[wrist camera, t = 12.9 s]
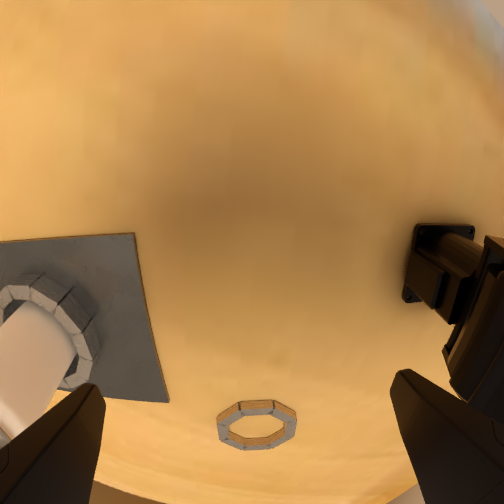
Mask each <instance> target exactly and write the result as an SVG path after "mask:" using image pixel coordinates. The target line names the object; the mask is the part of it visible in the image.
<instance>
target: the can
mask: <svg viewBox="0 0 504 504" xmlns="http://www.w3.org/2000/svg"><path fill="white" fill-rule="evenodd" d="M76 354H77V350H76V347H75V345H74V342H73V339H72V337H71V335H70V334H69V332H68V331H67V330H66V329H65V328H64V327H63V325H62V324H61V323H60V322H59V321H58V320H57V318H56V317H55V316H54V315H53V314H52V313H51V312H49V311H47V310H46V309H44V308H43V307H41V306H39V305H38V304H36V303H35V302H33V301H32V300H27V301H26V302H25V303H23V304H22V305H21V306H20V307H19V308H18V309H17V310H16V311H15V312H14V313H13V314H12V315H11V316H10V317H9V318H8V319H7V320H6V321H5V322H4V323H3V325H2V326H1V327H0V449H1V448H2V447H3V446H5V445H6V444H7V443H9V442H10V441H11V440H12V439H14V438H15V437H16V436H17V435H19V434H20V433H21V432H22V431H24V430H25V429H26V428H27V427H29V426H30V425H31V424H32V423H34V422H35V421H36V420H38V419H39V418H40V417H41V416H43V414H44V412H45V410H46V408H47V406H48V404H49V402H50V400H51V399H52V397H53V395H54V393H55V391H56V389H57V387H58V386H59V384H60V382H61V380H62V378H63V377H64V375H65V373H66V371H67V370H68V368H69V366H70V364H71V363H72V361H73V359H74V357H75V355H76Z"/></svg>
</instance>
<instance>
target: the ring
mask: <svg viewBox="0 0 504 504" xmlns="http://www.w3.org/2000/svg"><path fill="white" fill-rule="evenodd" d="M269 414H270V415H272V416H274V417H276V418H278V419H280V420H282V421H284V428H283V429H281V430H280V431H278V432H276V433H274V434H273V435H271V436H269V437H267V438H251V439H245V438H243V437H241V436H239V435H236V434H234V433H232V432H230V431H229V425H230V424H232V423H234V422H235V421H237V420H239V419H240V418H242V417H243V416H253V415H269ZM296 423H297V418H296V413H295V411H293V410H291V409H289V408H287V407H286V406H284V405H282V404H280V403H278V402H277V401H275V400H274V401H273V402H272V400H262V401H242V402H240V403H239V402H238V403H236V404H235V405H233V406H232V407H230V408H229V409H227V410H226V411H224V412H223V413H221V414H219V415H218V417H217V429H218V435H219V440H221V442H224V443H226V444H228V445H230V446H233V447H235V448H237V449H240V450H244V451H245V450H264V449H271V448H275V447H276V446H278V445H280V444H282V443H284V442H285V441H287V440H289V439H291V438H293V436H294V435H295V429H296Z"/></svg>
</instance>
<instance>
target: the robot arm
mask: <svg viewBox="0 0 504 504" xmlns="http://www.w3.org/2000/svg"><path fill="white" fill-rule="evenodd" d="M421 229H422V232H421V233H420V230H421ZM469 231H470V232H469ZM474 234H475V227H474V226H472V225H470V224H418V225H416V227H415V229H414V236H413V242H412V248H411V253H410V257H409V262H408V268H407V273H406V278H405V286H404V290H403V295H402V299H403V300H404V301H405V302H406V303H414V302H421V301H423V302H424V303H425V304H426V305H427V306H428V307H429V308H430V309H432V310H433V309H434V310H435V311H436V312H437V313H438V314H439V315H440V316H441V317H442V318H443V319H444V320H445V321H446V322H447V323H448V324H449V325H451V324H454V325H455V327H454V329H453V331H452V333H451V335H450V338H449V340H448V342H447V344H445V345H444V347H443V349H442V354H443V356H444V359H445V362H446V365H447V368H448V371H449V374H450V377H451V378H450V380H449V383H450V385H451V387H452V388H453V390H454V391H455V392H456V394H457V395H458V397H459V398H460V399H461V400H460V399H459V398H457V397H455V396H454V395H452V394H450V393H449V392H447V391H445V390H444V389H442V388H441V387H439V386H437V385H436V384H434V383H432V382H431V381H429V380H428V379H426V378H424V377H423V376H421V375H419V374H418V373H416V372H415V371H413V370H411V369H404V370H399V371H398V372H397V373H396V375H395V378H394V380H393V383H392V386H391V388H390V397H391V400H392V404H393V407H394V411H395V415H396V419H397V422H398V426H399V430H400V433H401V436H402V439H403V442H404V445H405V447H406V450H407V452H408V455H409V458H410V461H411V463H412V466H413V469H414V472H415V474H416V477H417V480H418V483H419V486H420V489H421V491H422V495H423V498H424V501H425V504H504V239H503V238H498V237H494V236H489V235H486V236H485V239H484V247H482V246H480V245H478V244H477V243H475V242H473V239H474ZM409 295H410V296H409ZM408 296H409V297H408ZM407 297H408V298H407ZM105 411H106V403H105V400H104V398H103V396H102V394H101V392H100V390H99V388H98V386H97V385H96V384H92V383H83V384H82V385H80V386H79V387H78V388H77V389H75V390H74V391H73V392H72V393H70V394H69V395H68V396H66V397H65V398H64V399H63V400H61V401H60V402H59V403H58V404H56V405H55V406H54V407H53V408H51V409H50V410H49V411H48V412H46V413H45V414H44V415H43V416H41V417H40V418H39V419H38V420H36V421H35V422H34V423H32V424H31V425H30V426H29V427H27V428H26V429H25V430H24V431H22V432H21V433H20V434H19V435H17V436H16V437H15V438H14V439H12V440H11V441H10V442H9V443H7V444H6V445H5V446H3V447H2V448H1V449H0V504H89V499H90V493H91V489H92V483H93V479H94V474H95V470H96V465H97V461H98V457H99V452H100V447H101V440H102V432H103V424H104V417H105Z"/></svg>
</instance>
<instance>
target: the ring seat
mask: <svg viewBox="0 0 504 504" xmlns="http://www.w3.org/2000/svg"><path fill="white" fill-rule="evenodd" d="M27 300H32V301H33V302H35V303H36V304H38V305H39V306H41V307H43V308H44V309H46V310H47V311H49V312H51V313H52V314H53V315H54V316H55V317H56V318H57V320H58V321H59V322H60V323H61V324H62V325H63V327H64V328H65V329H66V330H67V331H68V332H69V334H70V335H71V337H72V339H73V342H74V345H75V347H76V350H77V354H76V355H75V357H74V359H73V361H72V363H71V364H70V366H69V368H68V370H67V371H66V373H65V375H64V377H63V378H62V380H61V382H60V384H59V386H58V387H57V389H58V390H63V391H68V392H73V391H74V390H75V389H77V388H78V387H79V386H80V385H82V384H83V383H92V384H96V385H97V386H98V388H99V390H100V392H101V394H102V396H103V397H108V398H116V399H125V400H135V401H147V402H162V403H169V401H170V399H169V396H168V392H167V389H166V385H165V382H164V378H163V374H162V370H161V367H160V363H159V359H158V355H157V351H156V347H155V342H154V338H153V334H152V329H151V325H150V320H149V315H148V311H147V306H146V301H145V295H144V290H143V285H142V279H141V273H140V267H139V261H138V255H137V248H136V241H135V234H134V233H120V234H103V235H86V236H71V237H56V238H42V239H29V240H16V241H4V242H0V327H1V326H2V325H3V323H4V322H5V321H6V320H7V319H8V318H9V317H10V316H11V315H12V314H13V313H14V312H15V311H16V310H17V309H18V308H19V307H20V306H21V305H22V304H23V303H25V302H26V301H27Z"/></svg>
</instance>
